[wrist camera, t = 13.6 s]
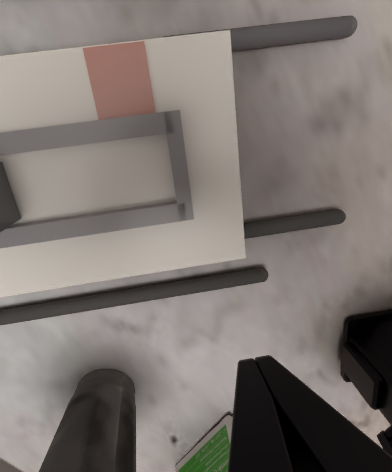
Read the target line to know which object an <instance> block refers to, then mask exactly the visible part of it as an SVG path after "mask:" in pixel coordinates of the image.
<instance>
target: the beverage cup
mask: <svg viewBox="0 0 392 472" xmlns="http://www.w3.org/2000/svg"><path fill="white" fill-rule="evenodd" d="M134 393H135V389H134V384H133V382H132V381H131V379H130V378H129V377H128V376H127V375H125V374H124V373H122V372H119V371H117V370H111V369H102V370H96V371H93V372H91V373H89V374H87V375H86V376H85V377H83V378H82V379H81V381H80V383H79V384H78V387H77V390H76V391H75V393H74V395H73V397H72V399H71V400H70V402H69V404H68V407H67V409H66V411H65V413H64V416H63V418H62V420H61V423H60V425H59V427H58V429H57V432H56V434H55V436H54V438H53V441H52V443H51V445H50V448H49V450H48V452H47V454H46V457H45V459H44V461H43V463H42V466H41V468H40V470H39V472H136V406H135V397H134Z"/></svg>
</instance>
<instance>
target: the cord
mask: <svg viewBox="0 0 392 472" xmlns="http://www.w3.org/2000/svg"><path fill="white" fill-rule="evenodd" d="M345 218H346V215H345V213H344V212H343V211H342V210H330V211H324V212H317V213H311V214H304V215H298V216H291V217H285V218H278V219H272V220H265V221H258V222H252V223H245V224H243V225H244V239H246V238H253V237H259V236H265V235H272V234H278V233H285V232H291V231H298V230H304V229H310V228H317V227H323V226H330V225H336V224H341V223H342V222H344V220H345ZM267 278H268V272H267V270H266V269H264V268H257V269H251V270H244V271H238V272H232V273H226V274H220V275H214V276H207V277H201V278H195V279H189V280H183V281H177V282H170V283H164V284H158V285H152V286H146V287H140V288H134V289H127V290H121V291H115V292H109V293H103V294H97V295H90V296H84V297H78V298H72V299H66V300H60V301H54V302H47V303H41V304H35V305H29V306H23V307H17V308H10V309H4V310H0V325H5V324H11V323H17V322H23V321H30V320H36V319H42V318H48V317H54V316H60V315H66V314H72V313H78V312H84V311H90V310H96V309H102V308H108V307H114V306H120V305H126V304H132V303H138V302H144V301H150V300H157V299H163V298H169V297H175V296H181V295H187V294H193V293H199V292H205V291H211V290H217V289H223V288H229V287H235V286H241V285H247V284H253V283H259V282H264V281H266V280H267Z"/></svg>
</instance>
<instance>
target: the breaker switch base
mask: <svg viewBox="0 0 392 472" xmlns="http://www.w3.org/2000/svg"><path fill="white" fill-rule="evenodd" d="M0 162H2V164H3V166H4V169H5V172H6V175H7V178H8V181H9V184H10V187H11V190H12V192H13V195H14V198H15V201H16V204H17V207H18V210H19V213H20V215H21V219H20V220H18V221H17V222H15V223H14V224H12V225H11V226H9V227H8V228H6V229H5V230H3V231H2V232H0V297H6V296H13V295H19V294H25V293H31V292H38V291H44V290H50V289H56V288H63V287H69V286H75V285H81V284H88V283H94V282H100V281H106V280H113V279H119V278H125V277H131V276H138V275H144V274H150V273H156V272H163V271H169V270H175V269H181V268H188V267H194V266H200V265H206V264H213V263H219V262H225V261H231V260H238V259H244V258H246V254H245V239H244V225H243V210H242V195H241V181H240V166H239V152H238V137H237V123H236V108H235V94H234V79H233V64H232V50H231V35H230V30H225V31H216V32H207V33H198V34H189V35H181V36H172V37H163V38H154V39H145V40H136V41H127V42H119V43H110V44H101V45H92V46H83V47H74V48H65V49H56V50H48V51H39V52H30V53H21V54H12V55H3V56H0Z"/></svg>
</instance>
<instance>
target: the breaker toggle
mask: <svg viewBox="0 0 392 472" xmlns="http://www.w3.org/2000/svg"><path fill="white" fill-rule="evenodd" d="M20 219H21V215H20V213H19V210H18V207H17V204H16V201H15V198H14V195H13V192H12V190H11V187H10V184H9V181H8V178H7V175H6V172H5V169H4V166H3V164H2V162H0V232H2V231H3V230H5V229H6V228H8V227H9V226H11V225H12V224H14V223H15V222H17V221H18V220H20Z"/></svg>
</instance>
